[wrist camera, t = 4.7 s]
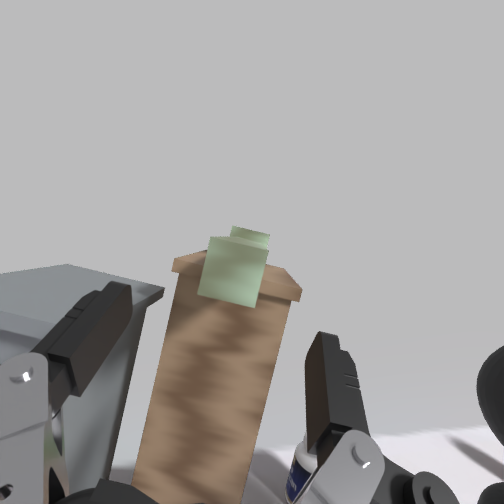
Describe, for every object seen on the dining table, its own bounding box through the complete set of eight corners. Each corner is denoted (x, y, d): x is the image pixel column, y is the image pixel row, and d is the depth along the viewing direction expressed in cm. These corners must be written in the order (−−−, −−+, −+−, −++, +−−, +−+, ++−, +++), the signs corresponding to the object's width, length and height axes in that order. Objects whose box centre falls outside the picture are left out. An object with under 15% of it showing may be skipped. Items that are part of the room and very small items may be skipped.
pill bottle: (279, 483, 42) (295, 422, 42) (311, 484, 43) (327, 425, 43) (291, 520, 37) (309, 451, 36) (328, 521, 38) (346, 454, 38)
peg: (260, 263, 34) (267, 235, 34) (269, 311, 12) (289, 232, 12) (228, 256, 34) (235, 227, 34) (181, 290, 12) (200, 210, 12)
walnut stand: (225, 502, 37) (283, 268, 35) (207, 663, 23) (302, 289, 21) (151, 485, 37) (206, 249, 35) (89, 635, 23) (174, 258, 21)
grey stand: (107, 543, 30) (164, 287, 28) (-9, 782, 17) (86, 331, 15) (14, 521, 30) (67, 264, 28) (-173, 743, 17) (-95, 287, 15)
